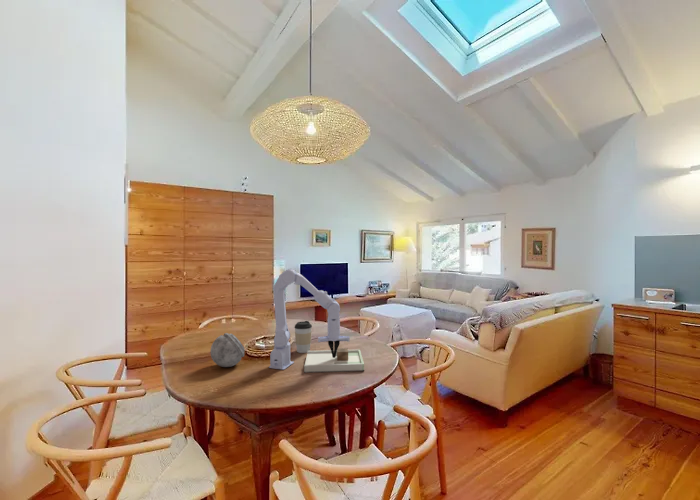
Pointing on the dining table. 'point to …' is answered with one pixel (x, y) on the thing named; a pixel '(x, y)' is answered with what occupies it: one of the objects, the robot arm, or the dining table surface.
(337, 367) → the board
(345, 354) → the walnut block
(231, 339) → the decorative orb
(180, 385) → the dining table surface
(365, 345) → the dining table surface
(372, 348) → the dining table surface
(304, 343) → the coffee cup
